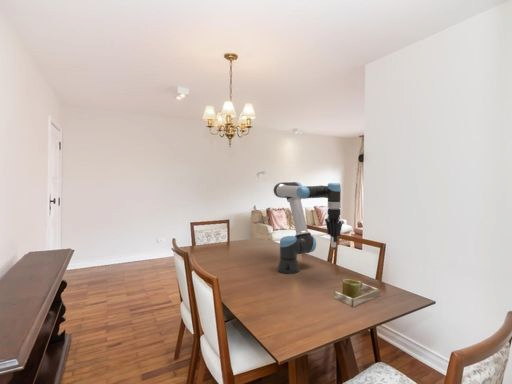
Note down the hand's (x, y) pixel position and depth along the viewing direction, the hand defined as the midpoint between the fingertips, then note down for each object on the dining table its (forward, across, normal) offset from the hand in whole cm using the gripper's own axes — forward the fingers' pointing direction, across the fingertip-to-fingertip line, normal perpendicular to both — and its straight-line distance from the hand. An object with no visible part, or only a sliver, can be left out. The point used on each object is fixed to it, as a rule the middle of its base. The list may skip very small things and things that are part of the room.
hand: (333, 246), depth 170 cm
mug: (+22, +19, -5) cm, 30 cm away
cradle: (+22, +22, -5) cm, 31 cm away
